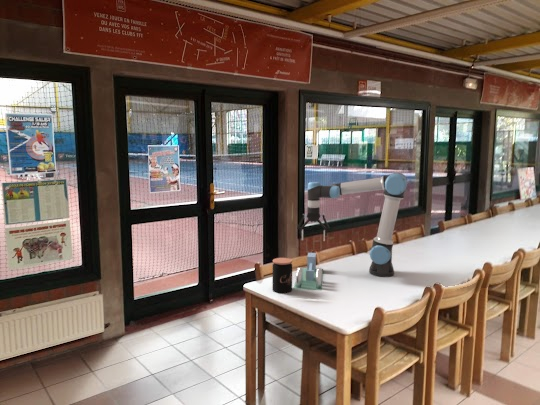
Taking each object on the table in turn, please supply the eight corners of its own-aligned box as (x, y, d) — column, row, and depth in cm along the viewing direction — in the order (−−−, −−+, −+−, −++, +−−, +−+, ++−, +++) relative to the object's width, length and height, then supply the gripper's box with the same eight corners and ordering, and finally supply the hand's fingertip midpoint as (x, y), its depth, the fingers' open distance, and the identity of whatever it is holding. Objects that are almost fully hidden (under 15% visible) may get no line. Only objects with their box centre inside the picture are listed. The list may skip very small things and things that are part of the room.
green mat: (323, 270, 267) (323, 268, 267) (321, 292, 228) (321, 290, 227) (299, 269, 269) (299, 267, 269) (293, 290, 230) (293, 288, 230)
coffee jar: (280, 297, 220) (280, 264, 218) (268, 291, 229) (268, 259, 226) (295, 293, 227) (296, 260, 224) (283, 287, 235) (284, 256, 233)
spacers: (321, 281, 242) (321, 268, 241) (321, 289, 229) (321, 275, 228) (297, 280, 244) (297, 267, 243) (295, 287, 231) (295, 273, 230)
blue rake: (315, 268, 269) (315, 252, 268) (314, 280, 243) (314, 264, 242) (307, 267, 270) (308, 252, 268) (305, 280, 244) (305, 263, 243)
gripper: (333, 206, 260) (333, 239, 263) (294, 205, 264) (293, 238, 266) (334, 208, 253) (333, 242, 256) (293, 207, 256) (292, 241, 259)
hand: (313, 240), depth 261 cm, fingers open, 13 cm apart
